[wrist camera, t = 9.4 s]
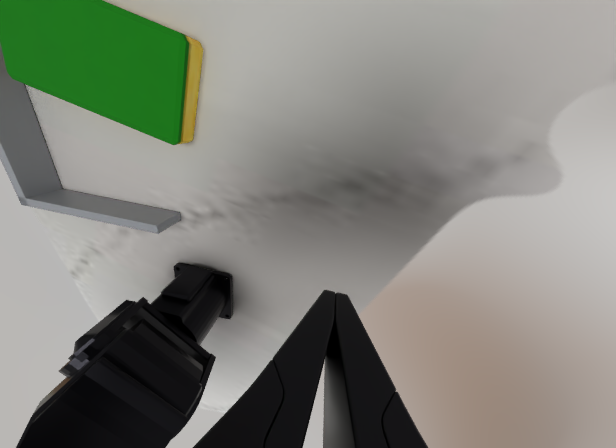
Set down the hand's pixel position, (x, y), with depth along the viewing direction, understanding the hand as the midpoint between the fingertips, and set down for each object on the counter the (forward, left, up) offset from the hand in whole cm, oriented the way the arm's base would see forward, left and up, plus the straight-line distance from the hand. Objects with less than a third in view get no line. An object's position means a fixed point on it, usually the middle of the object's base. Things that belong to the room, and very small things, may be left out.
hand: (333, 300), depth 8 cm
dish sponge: (+7, +19, -13) cm, 24 cm away
